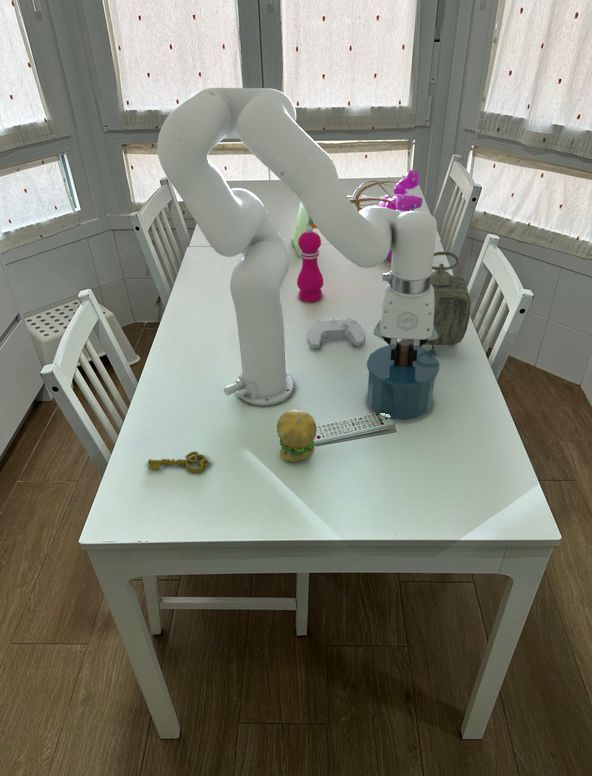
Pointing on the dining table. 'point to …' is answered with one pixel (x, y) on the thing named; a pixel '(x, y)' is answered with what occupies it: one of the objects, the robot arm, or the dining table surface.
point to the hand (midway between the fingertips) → (403, 362)
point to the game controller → (335, 331)
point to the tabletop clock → (449, 305)
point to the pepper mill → (309, 267)
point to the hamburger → (296, 435)
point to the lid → (403, 366)
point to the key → (181, 462)
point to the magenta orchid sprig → (397, 202)
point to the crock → (400, 399)
